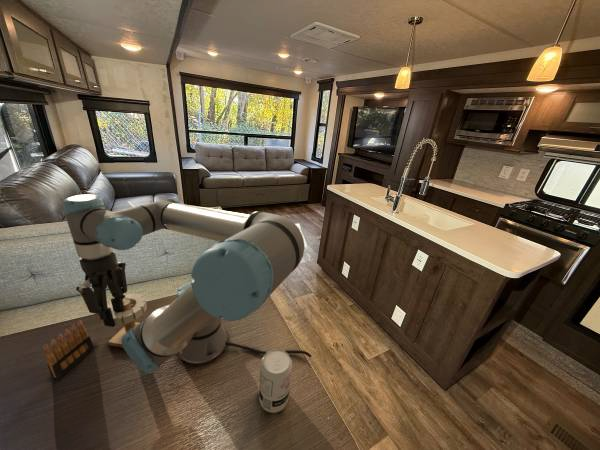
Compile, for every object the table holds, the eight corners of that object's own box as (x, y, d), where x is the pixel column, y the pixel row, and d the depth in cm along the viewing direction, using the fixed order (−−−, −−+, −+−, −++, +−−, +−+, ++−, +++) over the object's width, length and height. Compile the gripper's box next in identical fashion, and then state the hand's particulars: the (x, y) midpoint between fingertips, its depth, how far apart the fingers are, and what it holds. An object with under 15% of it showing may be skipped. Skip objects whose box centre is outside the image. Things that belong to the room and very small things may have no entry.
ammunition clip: (57, 379, 68) (43, 348, 63) (51, 377, 68) (37, 346, 63) (94, 347, 77) (84, 318, 73) (89, 346, 78) (79, 317, 73)
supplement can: (261, 382, 72) (263, 345, 66) (289, 385, 72) (293, 348, 66) (256, 412, 65) (257, 374, 59) (287, 415, 65) (291, 377, 59)
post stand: (154, 328, 86) (147, 295, 80) (134, 350, 78) (126, 315, 72) (130, 324, 87) (122, 291, 81) (109, 345, 79) (98, 309, 73)
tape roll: (154, 305, 81) (153, 299, 80) (122, 330, 72) (120, 323, 71) (129, 295, 84) (128, 289, 83) (94, 318, 75) (92, 311, 74)
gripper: (109, 238, 73) (124, 300, 82) (51, 267, 58) (78, 339, 67) (133, 241, 72) (145, 304, 81) (80, 272, 57) (103, 345, 66)
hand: (115, 320), depth 74 cm, fingers closed on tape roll, 3 cm apart
